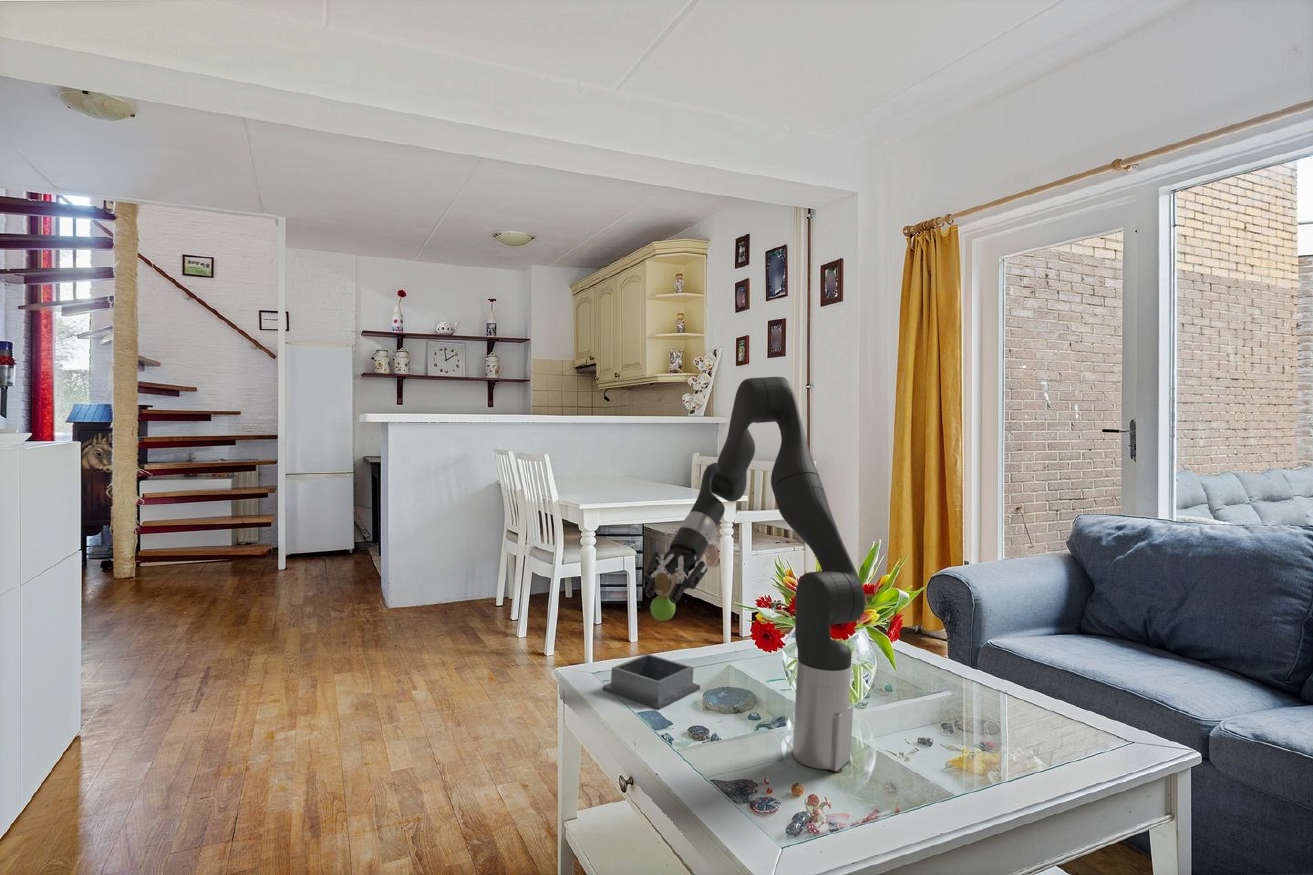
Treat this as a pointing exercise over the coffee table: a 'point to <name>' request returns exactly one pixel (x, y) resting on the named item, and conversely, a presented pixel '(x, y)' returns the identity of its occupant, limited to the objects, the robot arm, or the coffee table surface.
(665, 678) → the duct collar
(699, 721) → the coffee table surface
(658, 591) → the snail figurine
